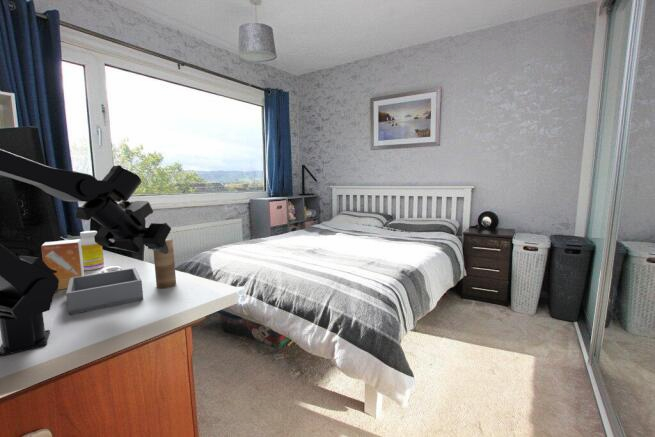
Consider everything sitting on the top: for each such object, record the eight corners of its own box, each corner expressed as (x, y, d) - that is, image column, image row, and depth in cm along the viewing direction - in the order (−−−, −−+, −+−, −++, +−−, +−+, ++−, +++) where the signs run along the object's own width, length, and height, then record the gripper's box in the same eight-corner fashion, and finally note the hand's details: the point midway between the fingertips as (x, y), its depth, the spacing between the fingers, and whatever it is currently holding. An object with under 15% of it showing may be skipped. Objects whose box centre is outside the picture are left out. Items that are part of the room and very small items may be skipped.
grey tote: (143, 299, 80) (141, 280, 79) (68, 314, 71) (66, 293, 70) (136, 284, 91) (135, 267, 91) (72, 296, 83) (70, 277, 82)
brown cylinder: (177, 285, 90) (174, 240, 88) (158, 289, 87) (154, 243, 85) (174, 281, 94) (170, 238, 92) (155, 284, 91) (151, 240, 89)
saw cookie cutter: (129, 278, 101) (128, 273, 101) (110, 282, 97) (110, 276, 97) (117, 268, 110) (116, 264, 109) (100, 272, 106) (99, 267, 106)
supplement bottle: (107, 267, 111) (104, 231, 109) (85, 272, 105) (81, 234, 103) (99, 264, 114) (95, 229, 113) (77, 269, 109) (72, 232, 107)
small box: (46, 292, 86) (40, 245, 85) (50, 285, 91) (44, 241, 90) (83, 286, 91) (78, 241, 89) (85, 280, 96) (80, 238, 94)
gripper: (162, 190, 76) (195, 228, 88) (99, 190, 80) (139, 227, 92) (138, 227, 69) (177, 263, 81) (72, 226, 73) (118, 260, 85)
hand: (152, 251), depth 85 cm, fingers open, 9 cm apart
